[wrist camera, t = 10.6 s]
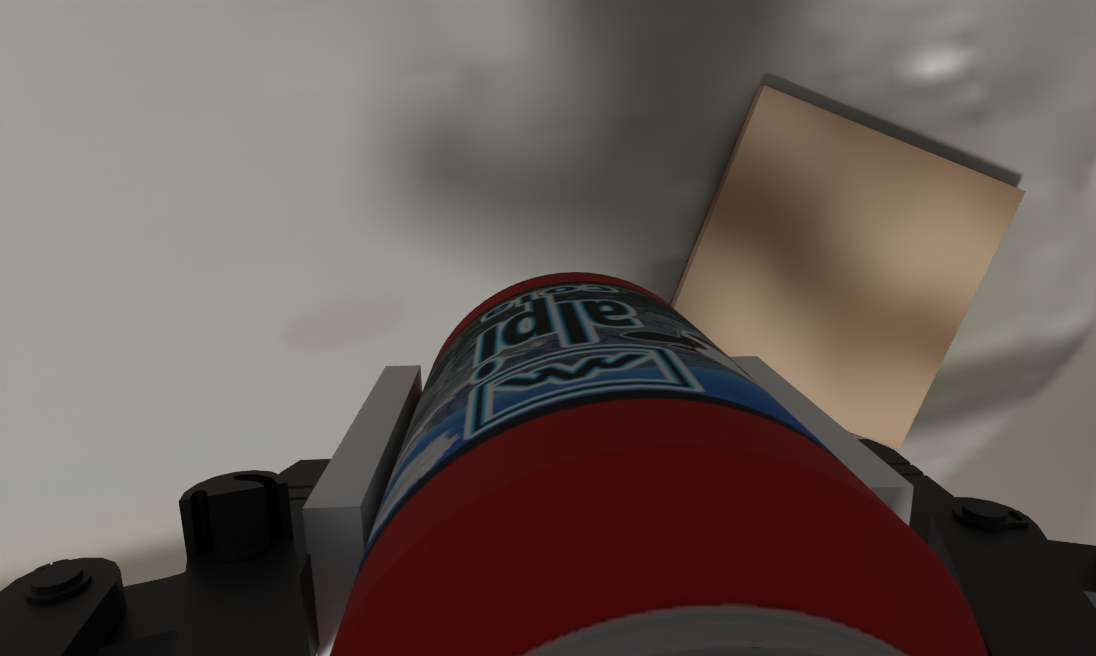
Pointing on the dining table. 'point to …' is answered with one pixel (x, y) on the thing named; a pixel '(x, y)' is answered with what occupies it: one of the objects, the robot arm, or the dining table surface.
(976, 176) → the mat
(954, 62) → the dining table surface
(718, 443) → the beverage can
